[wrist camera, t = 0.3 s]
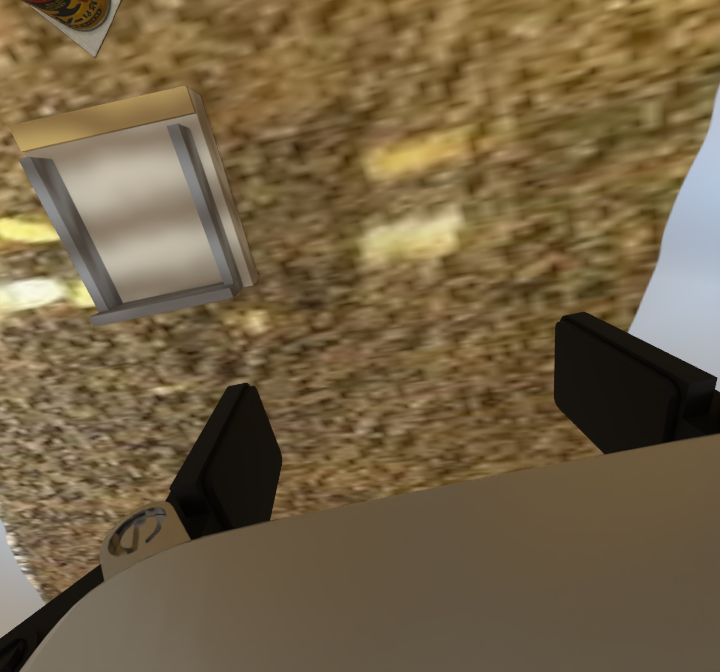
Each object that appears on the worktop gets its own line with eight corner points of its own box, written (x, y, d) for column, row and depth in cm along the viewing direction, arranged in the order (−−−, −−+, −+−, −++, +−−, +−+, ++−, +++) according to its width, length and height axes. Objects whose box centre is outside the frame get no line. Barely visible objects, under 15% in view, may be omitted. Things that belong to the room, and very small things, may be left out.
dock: (39, 132, 33) (-33, 117, 27) (200, 95, 33) (166, 72, 26) (125, 306, 40) (84, 328, 34) (259, 278, 40) (243, 295, 33)
